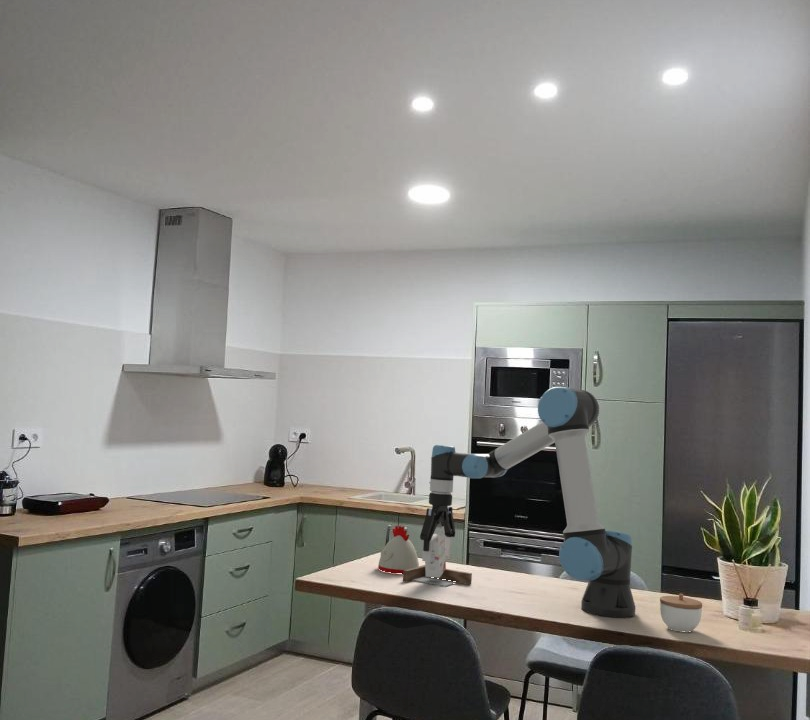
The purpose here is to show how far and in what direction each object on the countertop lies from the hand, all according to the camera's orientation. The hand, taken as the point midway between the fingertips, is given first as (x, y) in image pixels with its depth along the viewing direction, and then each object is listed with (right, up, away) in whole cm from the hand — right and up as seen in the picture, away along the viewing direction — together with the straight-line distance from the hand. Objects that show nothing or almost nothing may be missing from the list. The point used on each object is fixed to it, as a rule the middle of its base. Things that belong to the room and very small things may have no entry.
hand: (436, 559), depth 245 cm
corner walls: (0, -7, -2) cm, 7 cm away
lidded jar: (+64, -8, -42) cm, 76 cm away
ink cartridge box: (0, -5, 0) cm, 5 cm away
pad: (0, -7, -1) cm, 7 cm away
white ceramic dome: (-13, -8, +14) cm, 21 cm away
